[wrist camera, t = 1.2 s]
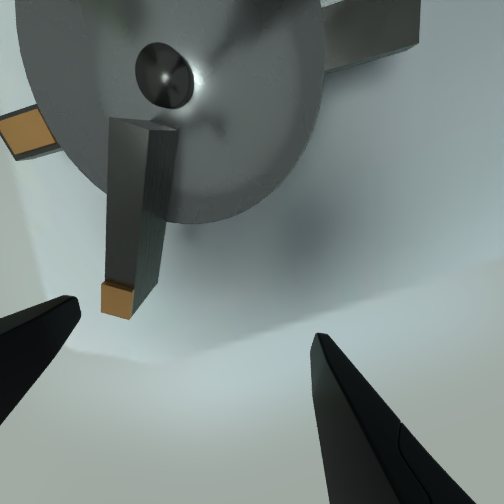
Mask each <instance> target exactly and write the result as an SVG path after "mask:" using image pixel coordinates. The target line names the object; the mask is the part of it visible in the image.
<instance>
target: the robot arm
mask: <svg viewBox="0 0 504 504" xmlns="http://www.w3.org/2000/svg"><path fill="white" fill-rule="evenodd" d="M80 318H81V310H80V306H79V302H78V299H77V298H76V297H75V296H68V295H63V296H60V297H57V298H55V299H52V300H49V301H46V302H44V303H41V304H38V305H36V306H33V307H30V308H27V309H25V310H22V311H19V312H17V313H14V314H11V315H8V316H6V317H3V318H0V425H1V424H2V423H3V421H4V420H5V419H6V417H7V416H8V415H9V414H10V412H11V411H12V410H13V409H14V408H15V406H16V405H17V404H18V403H19V401H20V400H21V399H22V398H23V396H24V395H25V394H26V393H27V391H28V390H29V389H30V388H31V386H32V385H33V384H34V383H35V381H36V380H37V379H38V378H39V376H40V375H41V374H42V373H43V371H44V370H45V369H46V368H47V366H48V365H49V364H50V363H51V361H52V360H53V359H54V358H55V356H56V355H57V353H58V352H59V350H60V349H61V347H62V346H63V344H64V343H65V341H66V340H67V338H68V337H69V335H70V334H71V332H72V331H73V329H74V328H75V326H76V325H77V323H78V322H79V320H80ZM310 360H311V377H312V378H311V379H312V396H313V403H314V409H315V416H316V421H317V427H318V434H319V440H320V446H321V453H322V458H323V465H324V471H325V477H326V483H327V489H328V496H329V502H330V504H476V503H475V502H474V501H473V500H472V499H471V498H470V497H469V496H468V495H467V494H466V493H465V491H463V490H462V488H461V487H460V486H459V485H458V484H457V483H456V482H455V481H454V480H453V479H452V478H451V477H450V476H449V475H448V474H447V473H446V471H444V469H443V468H442V467H441V466H440V465H439V464H438V463H437V462H436V461H435V460H434V459H433V458H432V456H431V455H430V454H429V453H428V452H427V451H426V450H425V448H424V447H423V446H422V445H421V444H420V443H419V442H418V441H417V439H416V438H415V437H414V436H413V435H412V434H411V432H410V431H409V430H408V429H407V428H406V426H405V425H404V424H403V423H401V421H400V419H399V418H398V417H397V416H396V415H395V413H394V412H393V411H392V410H391V409H390V408H389V406H388V405H387V404H386V403H385V402H384V400H383V399H382V398H381V397H380V396H379V395H378V393H377V392H376V391H375V390H374V388H373V387H372V386H371V385H370V384H369V383H368V381H367V380H366V379H365V378H364V377H363V375H362V374H361V373H360V372H359V371H358V369H357V368H356V367H355V366H354V365H353V364H352V362H351V361H350V360H349V359H348V358H347V356H346V355H345V354H344V353H343V352H342V351H341V349H340V348H339V347H338V346H337V345H336V343H335V342H334V341H333V340H332V339H331V338H330V336H329V335H328V334H324V333H316V334H315V337H314V340H313V343H312V346H311V350H310Z"/></svg>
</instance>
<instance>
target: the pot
mask: <svg viewBox="0 0 504 504" xmlns="http://www.w3.org/2000/svg"><path fill="white" fill-rule="evenodd" d="M420 5H421V0H344V1H341V2H338V3H335V4H332V5H329V6H326V7H323V8H321V11H322V18H323V25H324V35H325V68H324V74H328V73H331V72H334V71H338V70H341V69H345V68H348V67H352V66H355V65H359V64H362V63H365V62H369V61H372V60H376V59H379V58H383V57H386V56H390V55H393V54H396V53H400V52H403V51H407V50H408V49H410V48H412V47H413V46H415V45H417V44H418V43H419V28H420ZM323 85H324V81H323ZM322 92H323V88H322ZM321 97H322V93H321ZM320 103H321V99H320ZM319 108H320V104H319ZM318 112H319V109H318ZM318 112H317V115H318ZM317 115H316V119H317ZM316 119H315V122H316ZM315 122H314V125H315ZM314 125H313V128H314ZM313 128H312V131H313ZM312 131H311V133H310V136H311V134H312ZM0 136H1V137H2V139H3V141H4V142H5V144H6V146H7V147H8V149H9V151H10V152H11V154H12V155H13V157H14V159H15V160H16V161H21V160H29V159H35V158H38V157H42V156H45V155H48V154H52V153H55V152H59V151H62V150H63V149H62V147H61V146H60V144H59V143H58V142H57V140H56V139H55V137H54V135H53V134H52V132H51V130H50V128H49V127H48V125H47V123H46V122H45V120H44V118H43V115H42V113H41V111H40V109H39V107H38V105H37V104H35V105H32V106H29V107H26V108H23V109H20V110H17V111H14V112H11V113H8V114H5V115H2V116H0ZM310 136H309V138H310ZM309 138H308V140H309ZM308 140H307V142H306V145H307V143H308ZM306 145H305V147H306ZM305 147H304V149H305ZM304 149H303V151H304ZM303 151H302V153H303ZM302 153H301V154H300V156H301V155H302ZM300 156H299V158H300ZM299 158H298V159H297V161H298V160H299ZM297 161H296V163H297ZM296 163H295V165H296ZM295 165H294V166H295ZM294 166H293V167H292V169H293V168H294ZM292 169H291V170H292ZM291 170H290V171H291ZM290 171H289V173H290ZM289 173H288V174H289ZM288 174H287V175H288ZM287 175H286V177H287ZM286 177H285V178H286ZM285 178H284V179H285ZM284 179H283V180H284ZM277 187H278V186H277ZM277 187H276V188H277ZM276 188H275V189H276ZM275 189H274V190H275ZM274 190H273V191H274ZM273 191H272V192H273ZM268 195H269V194H268ZM268 195H267V196H268ZM263 199H264V198H263Z"/></svg>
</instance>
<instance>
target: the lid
mask: <svg viewBox="0 0 504 504" xmlns="http://www.w3.org/2000/svg"><path fill="white" fill-rule="evenodd" d="M15 9H16V25H17V33H18V40H19V46H20V52H21V56H22V60H23V64H24V68H25V72H26V75H27V79H28V81H29V84H30V87H31V90H32V92H33V95H34V98H35V101H36V103H37V105H38V107H39V109H40V111H41V113H42V115H43V118H44V120H45V122H46V123H47V125H48V127H49V128H50V130H51V132H52V134H53V135H54V137H55V139H56V140H57V142H58V143H59V144H60V146H61V147H62V149H63V150H64V151H65V153H66V154H67V156H68V157H69V158H70V159H71V160H72V162H73V163H74V164H75V165H76V166H77V167H78V169H79V170H80V171H81V172H82V173H83V174H84V175H85V176H86V177H87V178H88V179H89V180H90V181H91V182H92V183H93V184H94V185H96V186H97V187H98V188H99V189H101V190H102V191H103V192H105V193H106V194H107V214H106V257H105V281H104V282H103V283H102V284H101V312H102V313H106V314H109V315H113V316H117V317H120V318H124V319H127V320H129V319H130V318H131V317H132V316H133V314H134V313H135V312H136V310H137V309H138V308H139V306H140V305H141V304H142V302H143V301H144V300H145V299H146V297H147V296H148V295H149V293H150V292H151V291H152V289H153V288H154V287H155V285H156V284H157V283H158V277H159V270H160V263H161V256H162V249H163V242H164V235H165V228H166V222H172V223H181V224H202V223H209V222H215V221H219V220H222V219H226V218H230V217H232V216H234V215H237V214H239V213H241V212H244V211H245V210H247V209H249V208H250V207H252V206H254V205H255V204H257V203H258V202H260V201H261V200H262V199H263V198H265V197H266V196H267V195H268V194H270V193H271V192H272V191H273V190H274V189H275V188H276V187H277V186H278V185H279V184H280V183H281V182H282V181H283V179H284V178H285V177H286V175H287V174H288V173H289V171H290V170H291V169H292V167H293V166H294V165H295V163H296V161H297V159H298V158H299V156H300V154H301V153H302V151H303V149H304V147H305V145H306V142H307V140H308V138H309V136H310V133H311V131H312V128H313V125H314V122H315V119H316V115H317V112H318V109H319V104H320V99H321V93H322V88H323V81H324V68H325V35H324V25H323V18H322V11H321V4H320V0H15Z"/></svg>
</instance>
